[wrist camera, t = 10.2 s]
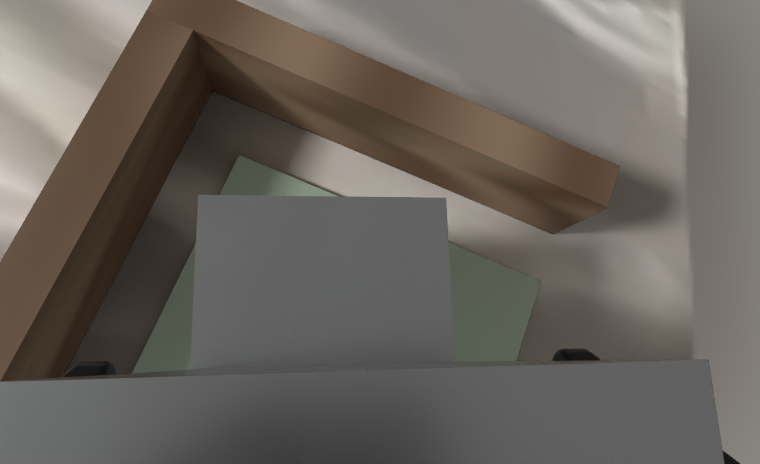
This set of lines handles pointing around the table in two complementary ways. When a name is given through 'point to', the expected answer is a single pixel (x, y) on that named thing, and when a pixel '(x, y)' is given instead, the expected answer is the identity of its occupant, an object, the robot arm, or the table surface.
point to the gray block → (351, 364)
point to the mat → (467, 274)
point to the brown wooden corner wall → (275, 97)
